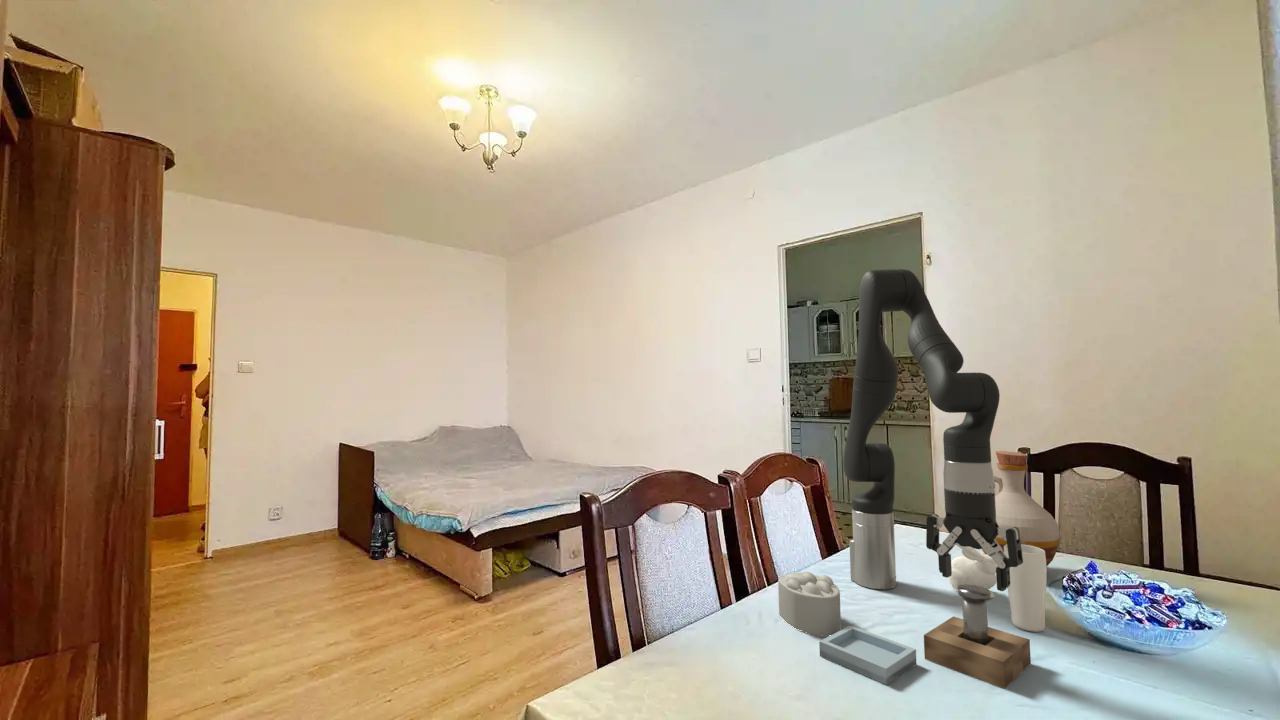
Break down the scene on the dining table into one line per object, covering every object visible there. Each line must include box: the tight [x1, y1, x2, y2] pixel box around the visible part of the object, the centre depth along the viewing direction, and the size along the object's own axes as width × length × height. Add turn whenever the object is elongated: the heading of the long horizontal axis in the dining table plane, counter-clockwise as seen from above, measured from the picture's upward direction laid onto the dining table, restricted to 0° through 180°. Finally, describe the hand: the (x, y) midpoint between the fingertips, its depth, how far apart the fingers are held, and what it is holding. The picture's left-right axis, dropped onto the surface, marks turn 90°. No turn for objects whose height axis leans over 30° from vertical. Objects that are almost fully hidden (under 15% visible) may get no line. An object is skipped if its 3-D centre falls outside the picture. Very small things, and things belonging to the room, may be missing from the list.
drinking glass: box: [1004, 544, 1048, 633], centre depth 105 cm, size 7×7×15 cm
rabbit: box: [947, 543, 998, 599], centre depth 122 cm, size 12×9×12 cm
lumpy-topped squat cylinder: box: [777, 571, 842, 637], centre depth 108 cm, size 10×13×9 cm
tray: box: [818, 625, 917, 686], centre depth 92 cm, size 12×10×2 cm
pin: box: [957, 584, 992, 646], centre depth 92 cm, size 5×5×12 cm
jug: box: [981, 450, 1061, 567], centre depth 136 cm, size 20×18×30 cm
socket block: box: [923, 616, 1032, 689], centre depth 92 cm, size 12×12×4 cm
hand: (973, 582), depth 92 cm, fingers open, 8 cm apart
